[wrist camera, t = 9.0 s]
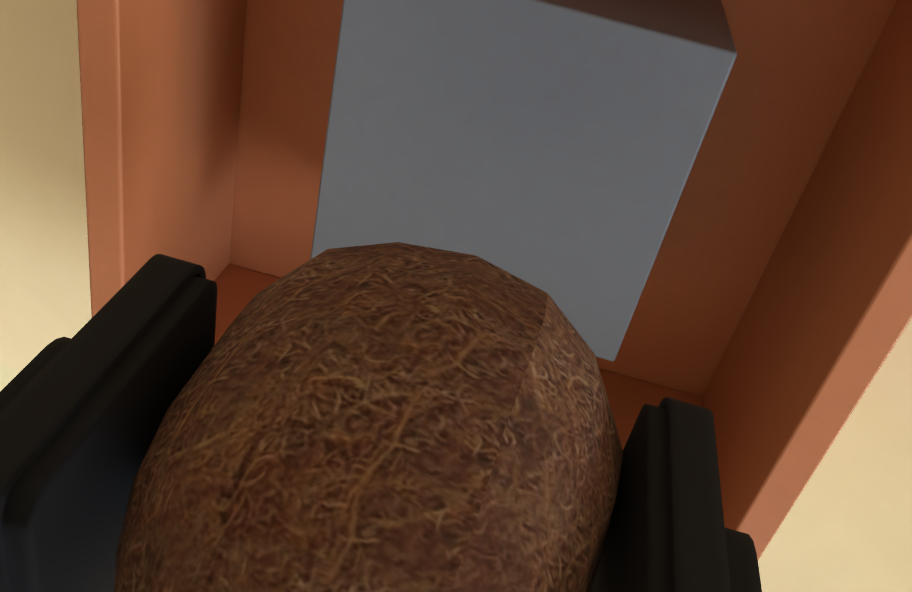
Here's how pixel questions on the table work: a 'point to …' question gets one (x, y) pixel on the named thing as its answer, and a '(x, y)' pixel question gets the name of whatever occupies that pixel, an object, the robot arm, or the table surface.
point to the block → (523, 137)
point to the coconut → (381, 440)
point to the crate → (680, 255)
